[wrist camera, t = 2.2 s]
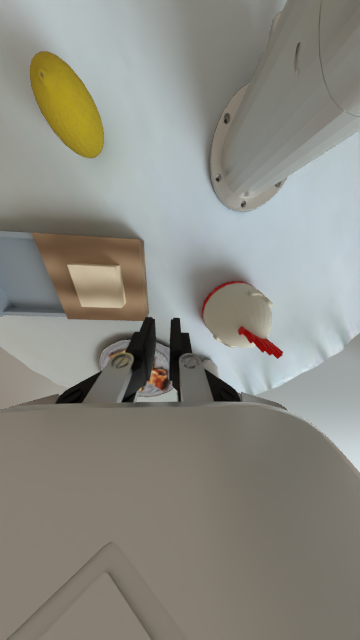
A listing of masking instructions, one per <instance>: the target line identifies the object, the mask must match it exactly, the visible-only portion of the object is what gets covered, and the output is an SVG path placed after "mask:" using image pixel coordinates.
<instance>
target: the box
mask: <svg viewBox="0 0 360 640" xmlns="http://www.w3.org/2000/svg"><path fill="white" fill-rule="evenodd" d="M4 315H22V316H60V317H67V316H66V313H65V311H64V309H63V306H62V304H61V302H60V299H59V297H58V295H57V292H56V290H55V287H54V285H53V283H52V280H51V278H50V276H49V273H48V271H47V269H46V266H45V264H44V261H43V259H42V257H41V254H40V252H39V250H38V247H37V245H36V243H35V240H34V238H33V236H32V233H26V232H10V231H0V317H1V316H4Z"/></svg>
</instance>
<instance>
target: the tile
mask: <svg viewBox="0 0 360 640" xmlns="http://www.w3.org/2000/svg"><path fill="white" fill-rule="evenodd" d="M67 266H68V269H69V272H70V275H71V277H72V280H73V283H74V286H75V289H76V292H77V295H78V298H79V301H80V303H81V306H82V307H101V308H122V307H123V306H124V305H125V304H126V299H125V293H124V286H123V280H122V274H121V268H120V265H106V264H86V263H75V264H68V265H67Z"/></svg>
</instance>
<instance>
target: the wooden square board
mask: <svg viewBox="0 0 360 640" xmlns="http://www.w3.org/2000/svg"><path fill="white" fill-rule="evenodd" d="M32 236H33V238H34V240H35V243H36V245H37V247H38V250H39V252H40V254H41V257H42V259H43V261H44V264H45V266H46V269H47V271H48V273H49V276H50V278H51V280H52V283H53V285H54V287H55V290H56V292H57V295H58V297H59V299H60V302H61V304H62V306H63V309H64V311H65V313H66V316H67V318H68V319H88V320H127V321H144V320H145V317H147V316H148V313H149V310H148V296H147V283H146V269H145V255H144V242H143V241H142V240H139V239H125V238H109V237H94V236H78V235H62V234H47V233H32ZM75 263H86V264H106V265H120V268H121V274H122V280H123V286H124V293H125V299H126V304H125V305H124V306H123V307H122V308H101V307H82V306H81V303H80V301H79V298H78V295H77V292H76V289H75V286H74V283H73V280H72V277H71V275H70V272H69V269H68V266H67V265H68V264H75Z"/></svg>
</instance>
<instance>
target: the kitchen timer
mask: <svg viewBox="0 0 360 640" xmlns="http://www.w3.org/2000/svg"><path fill="white" fill-rule="evenodd" d="M271 306H273V303H272V302H271V301H270V300H269V299H268V298H267V297H265V296H264V295H263V294H262V293H261V292H260V291H259V290H257V289H256V288H254V287H253V286H251V285H249V284H246V283H244V282H237V281H232V282H228V283H224V284H222V285H220V286H218V287H217V288H215V289H214V290H213V291H212V292H211V293H210V294H209V295H208V297H207V298H206V300H205V301H204V305H203V308H202V317H203V320H204V322H205V325H206V327H207V328H208V329H209V330H210V332H211V333H212V334H213V337H214V338H215V339H216V340H217V341H219V342H221V343H223V344H225V345H226V346H228V347H230V348H234V347H235V346H236V347H243V348H248V347H253V346H257V347H258V348H259V349H260V350H261V351H262V352H264V351H266V352H267V353H268V354H269V355H271V354H273V355H274V356H275V357H276V358H277V359H278V358H279V357H281V356H282V353H283V352H282V351H281V350H280V349H279V348H278V347H276V346H275V345H274V344H273V343H271V342H270V341H269V340H268V339H266V338H267V337H268V335H269V333H270V331H271V327H272V313H271V310H270V308H269V307H271Z"/></svg>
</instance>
